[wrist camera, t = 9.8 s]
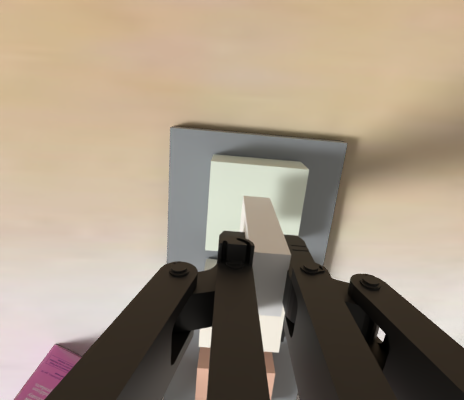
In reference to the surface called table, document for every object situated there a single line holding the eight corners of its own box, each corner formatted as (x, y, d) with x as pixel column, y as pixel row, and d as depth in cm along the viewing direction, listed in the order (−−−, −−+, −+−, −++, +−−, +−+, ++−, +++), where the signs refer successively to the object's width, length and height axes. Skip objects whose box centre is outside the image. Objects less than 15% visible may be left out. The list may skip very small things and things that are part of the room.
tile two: (206, 258, 24) (203, 278, 21) (284, 264, 24) (290, 284, 21) (201, 323, 26) (198, 348, 23) (274, 329, 26) (279, 354, 23)
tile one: (213, 154, 21) (210, 161, 19) (300, 161, 21) (309, 170, 19) (207, 234, 23) (204, 251, 21) (288, 240, 23) (295, 258, 21)
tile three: (200, 343, 26) (196, 370, 24) (271, 348, 26) (275, 375, 24) (196, 397, 28) (193, 427, 26) (263, 401, 28) (266, 432, 26)
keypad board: (173, 126, 22) (170, 127, 21) (342, 141, 22) (347, 143, 21) (165, 395, 30) (163, 405, 29) (291, 404, 30) (293, 414, 29)
